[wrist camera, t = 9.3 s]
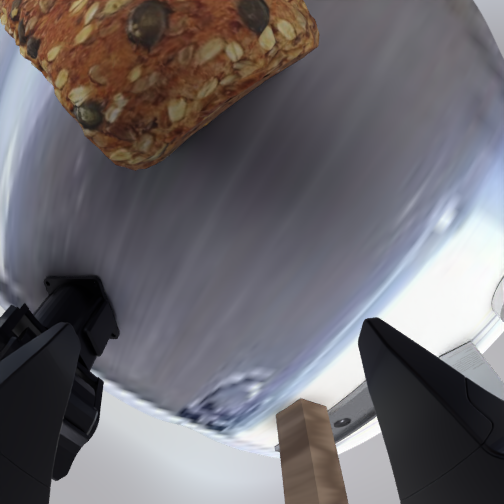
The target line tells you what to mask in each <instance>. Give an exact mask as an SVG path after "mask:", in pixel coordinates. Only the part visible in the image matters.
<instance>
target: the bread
mask: <svg viewBox="0 0 504 504" xmlns="http://www.w3.org/2000/svg"><path fill="white" fill-rule="evenodd" d="M0 19H1V23H2V25H5V30H6V31H7V32H8V34H9V35H11V36H12V37H13V38H14V39H15V42H16V45H18V46H20V54H21V55H22V56H23V57H24V58H26V59H28V60H30V61H31V64H32V65H33V66H34V67H36V68H37V69H38V70H39V71H41V72H42V73H43V75H44V76H45V78H46V79H47V80H48V81H49V82H50V83H51V84H52V85H53V86H54V90H55V95H56V97H57V98H58V100H59V101H60V103H61V104H62V106H63V107H64V108H65V109H66V110H67V112H68V113H69V114H70V115H71V116H72V117H73V118H75V120H76V121H77V122H78V123H79V124H80V126H81V127H82V130H83V132H84V135H85V136H86V137H87V138H88V139H89V140H90V141H91V142H92V143H93V144H95V145H96V146H97V147H98V148H99V149H100V150H101V151H102V152H103V153H104V154H105V155H106V156H107V157H108V158H109V159H110V160H111V161H112V162H113V163H114V164H115V165H118V166H122V167H125V168H129V169H132V170H135V171H136V170H137V169H147V168H149V167H151V166H153V165H155V164H157V163H158V162H161V161H163V160H164V159H165V158H166V157H167V156H170V154H171V153H172V152H174V151H175V150H176V149H177V148H178V147H179V146H180V145H181V144H182V143H183V142H185V141H186V140H187V139H188V138H189V137H190V136H191V135H193V134H194V133H195V132H197V131H198V130H200V129H201V128H202V127H204V126H206V125H207V124H208V123H209V122H211V121H212V120H213V119H214V118H216V117H217V116H218V115H219V114H221V113H222V112H223V111H225V110H226V109H227V108H229V107H230V106H231V105H233V104H234V103H235V102H237V101H238V100H239V99H241V98H242V97H244V96H245V95H246V94H248V93H249V92H251V91H252V90H253V89H255V88H256V87H258V86H259V85H260V84H262V83H263V82H264V81H266V80H267V79H269V78H270V77H272V76H274V75H276V74H277V73H279V72H281V71H282V70H284V69H285V68H287V67H289V66H290V65H292V64H293V63H295V62H297V61H298V60H300V59H302V58H303V57H305V56H306V55H307V54H308V53H310V52H311V51H313V50H314V49H315V48H317V47H318V44H319V32H318V29H317V25H316V21H315V19H314V18H313V17H312V16H311V15H310V13H309V11H308V9H307V7H306V5H305V3H304V1H303V0H0Z"/></svg>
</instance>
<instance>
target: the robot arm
mask: <svg viewBox="0 0 504 504" xmlns="http://www.w3.org/2000/svg"><path fill="white" fill-rule="evenodd" d="M94 282H95V283H96V284H95V283H94ZM44 284H45V287H46V289H47V292H48V294H49V296H48V297H47V298H46V299H45V301H44V302H43V303H42V304H41V305H40V307H39V308H38V309H37V310H36V312H35V313H34V314H32V313H31V312H30V310H29V308H28V306H27V305H26V304H25V303H24V304H23V306H22V307H21V308H20V309H19V308H18V307H15V306H13V305H11V306H10V307H9V308H8V309H7V310H6V311H5V313H4V314H3V315H2V316H1V317H0V504H49V497H50V487H51V479H53V480H55V481H58V480H59V479H61V478H63V477H64V476H66V475H67V474H68V472H69V469H70V467H71V465H72V462H73V461H74V458H75V457H76V455H77V453H78V452H79V450H80V449H81V447H82V446H83V445H84V444H85V443H86V442H88V441H89V439H90V438H91V437H92V436H93V434H94V432H95V430H96V428H97V426H98V423H99V418H100V408H101V399H102V392H103V384H104V382H103V381H102V380H101V379H100V378H99V377H98V378H97V377H96V376H95V375H94V374H92V373H91V372H90V370H91V368H92V365H93V363H94V361H95V359H96V357H97V356H101V354H102V353H103V350H104V348H105V346H106V344H107V342H108V340H109V339H117V338H118V336H119V331H118V328H117V326H116V322H115V319H114V316H113V314H112V311H111V308H110V305H109V303H108V301H107V298H106V295H105V292H104V289H103V286H102V283H101V281H100V279H99V278H98V277H95V276H90V277H47V278H46V279H45V280H44ZM358 347H359V351H360V355H361V359H362V364H363V368H364V373H365V378H366V382H367V386H368V390H369V394H370V397H371V400H372V403H373V406H374V409H375V412H376V415H377V418H378V422H379V425H380V428H381V431H382V435H383V438H384V441H385V445H386V448H387V452H388V455H389V459H390V463H391V466H392V470H393V474H394V477H395V482H396V486H397V490H398V494H399V498H400V501H401V502H400V503H401V504H504V400H502V399H500V398H498V397H497V396H495V395H493V394H492V393H490V392H488V391H487V390H485V389H484V388H482V387H481V386H479V385H478V384H476V383H475V382H473V381H472V380H470V379H469V378H467V377H465V376H464V375H463V374H461V373H460V372H458V371H457V370H456V369H454V368H453V367H451V366H450V365H448V364H447V363H445V362H444V361H442V360H441V359H439V358H438V357H436V356H435V355H434V354H432V353H431V352H429V351H428V350H426V349H425V348H423V347H422V346H420V345H419V344H417V343H416V342H414V341H413V340H411V339H410V338H408V337H407V336H405V335H404V334H402V333H401V332H399V331H398V330H396V329H395V328H393V327H392V326H390V325H389V324H387V323H386V322H384V321H383V320H381V319H380V318H377V317H375V318H367V319H365V320H364V322H363V325H362V328H361V332H360V336H359V339H358Z"/></svg>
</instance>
